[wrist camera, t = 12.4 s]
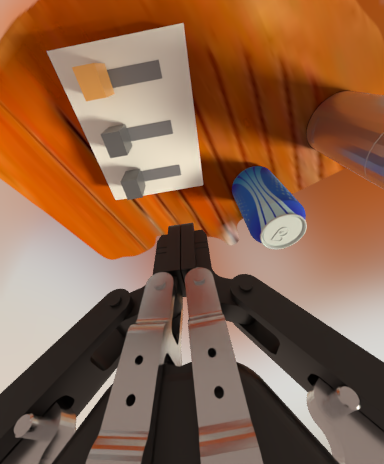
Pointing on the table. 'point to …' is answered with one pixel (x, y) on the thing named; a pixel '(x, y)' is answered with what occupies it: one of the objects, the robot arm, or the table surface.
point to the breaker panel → (139, 106)
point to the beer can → (268, 208)
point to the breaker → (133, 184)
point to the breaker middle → (117, 141)
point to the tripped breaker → (93, 81)
